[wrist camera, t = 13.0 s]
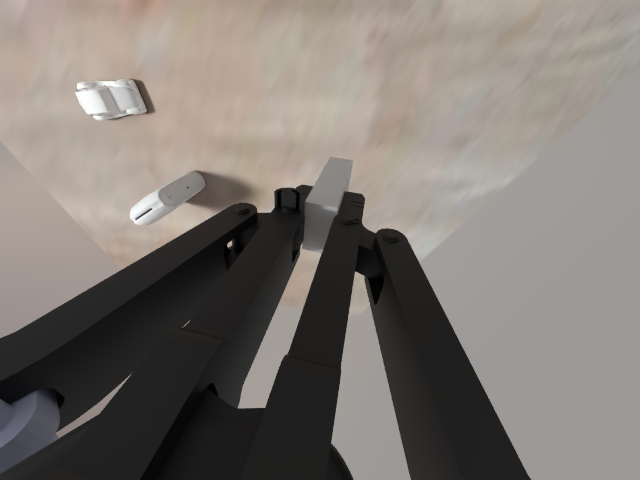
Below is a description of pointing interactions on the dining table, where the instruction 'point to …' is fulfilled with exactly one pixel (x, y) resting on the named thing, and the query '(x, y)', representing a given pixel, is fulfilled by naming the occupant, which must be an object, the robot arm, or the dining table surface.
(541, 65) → the dining table surface
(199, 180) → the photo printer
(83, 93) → the car
